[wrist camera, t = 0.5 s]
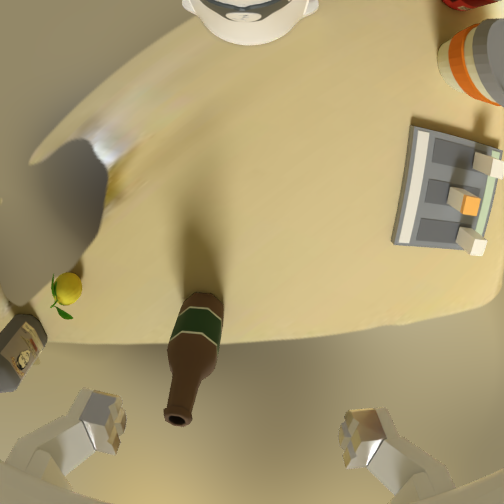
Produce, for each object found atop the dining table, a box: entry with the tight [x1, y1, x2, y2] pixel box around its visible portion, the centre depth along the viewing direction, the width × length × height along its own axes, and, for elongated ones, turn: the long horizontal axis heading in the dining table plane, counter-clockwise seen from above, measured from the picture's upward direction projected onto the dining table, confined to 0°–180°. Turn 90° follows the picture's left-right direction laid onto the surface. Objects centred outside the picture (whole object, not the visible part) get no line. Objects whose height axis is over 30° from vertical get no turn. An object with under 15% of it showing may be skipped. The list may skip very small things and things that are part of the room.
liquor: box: [0, 314, 47, 393], centre depth 48 cm, size 9×9×30 cm
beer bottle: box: [164, 293, 224, 427], centre depth 45 cm, size 8×8×24 cm
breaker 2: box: [473, 152, 504, 180], centre depth 38 cm, size 3×3×5 cm
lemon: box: [50, 272, 82, 319], centre depth 50 cm, size 7×6×10 cm
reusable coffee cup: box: [437, 19, 504, 107], centre depth 28 cm, size 12×13×15 cm
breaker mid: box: [447, 187, 481, 216], centre depth 41 cm, size 3×3×5 cm
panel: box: [391, 125, 503, 250], centre depth 44 cm, size 19×19×2 cm
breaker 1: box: [456, 227, 487, 256], centre depth 43 cm, size 3×3×5 cm
